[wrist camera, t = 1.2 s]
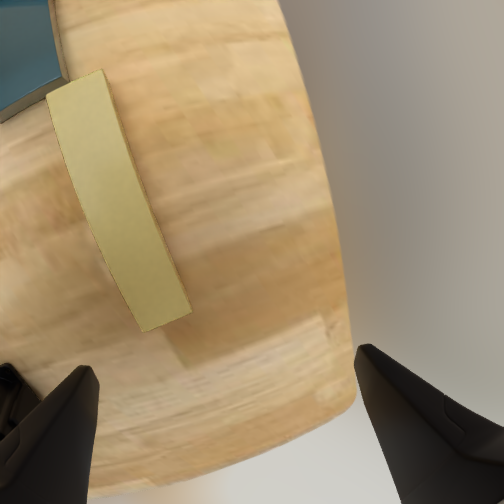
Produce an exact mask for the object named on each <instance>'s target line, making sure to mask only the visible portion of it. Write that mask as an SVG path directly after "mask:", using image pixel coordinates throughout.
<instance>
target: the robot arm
mask: <svg viewBox="0 0 504 504" xmlns="http://www.w3.org/2000/svg"><path fill="white" fill-rule="evenodd" d="M8 369H9V370H10V371H9V370H8ZM354 369H355V372H356V376H357V379H358V383H359V387H360V390H361V394H362V398H363V401H364V405H365V407H366V410H367V413H368V415H369V418H370V420H371V423H372V425H373V428H374V430H375V433H376V435H377V438H378V441H379V443H380V446H381V448H382V451H383V454H384V456H385V459H386V461H387V464H388V467H389V470H390V472H391V475H392V478H393V481H394V483H395V486H396V489H397V492H398V494H399V497H400V500H402V501H401V504H504V427H502V426H500V425H498V424H496V423H493V422H492V421H490V420H488V419H486V418H484V417H482V416H480V415H478V414H476V413H474V412H472V411H471V410H469V409H467V408H466V407H464V406H462V405H461V404H459V403H457V402H456V401H454V400H453V399H451V398H450V397H448V396H447V395H444V393H442V392H441V391H439V390H438V389H436V388H435V387H433V386H432V385H431V384H429V383H428V382H426V381H425V380H423V379H422V378H420V377H419V376H417V375H416V374H414V373H413V372H411V371H410V370H408V369H407V368H405V367H404V366H403V365H401V364H400V363H398V362H397V361H395V360H394V359H392V358H391V357H389V356H388V355H387V354H385V353H384V352H382V351H381V350H379V349H377V348H376V347H375V346H373V345H372V344H364V345H360V346H358V349H357V352H356V356H355V360H354ZM99 389H100V385H99V381H98V379H97V377H96V375H95V373H94V372H93V370H92V368H91V367H90V366H85V365H80V366H78V367H77V368H76V369H75V370H74V371H73V372H72V373H71V374H70V375H68V376H67V377H66V378H65V379H64V380H63V381H62V382H61V383H60V384H59V385H58V386H57V387H56V388H55V389H54V390H53V391H52V392H51V393H50V394H49V395H48V396H47V397H46V398H45V399H44V400H43V401H42V402H41V401H40V400H39V399H38V397H37V396H36V395H35V394H34V393H33V392H32V390H31V389H30V388H29V387H28V385H27V384H26V383H25V382H24V380H23V379H22V378H21V377H20V375H19V374H18V373H17V371H16V370H15V369H14V367H13V366H12V365H11V364H9V363H4V364H2V365H0V504H87V493H88V483H89V475H90V466H91V459H92V452H93V445H94V439H95V433H96V426H97V415H98V401H99Z"/></svg>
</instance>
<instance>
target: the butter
mask: <svg viewBox="0 0 504 504" xmlns="http://www.w3.org/2000/svg"><path fill="white" fill-rule="evenodd" d="M46 100H47V104H48V108H49V111H50V115H51V119H52V122H53V126H54V129H55V133H56V136H57V139H58V143H59V146H60V149H61V152H62V155H63V158H64V161H65V164H66V167H67V170H68V173H69V175H70V178H71V181H72V184H73V186H74V189H75V192H76V194H77V197H78V200H79V202H80V205H81V207H82V210H83V212H84V215H85V217H86V219H87V222H88V224H89V226H90V229H91V231H92V233H93V236H94V238H95V240H96V242H97V245H98V247H99V249H100V251H101V253H102V256H103V258H104V260H105V262H106V264H107V266H108V268H109V270H110V272H111V274H112V276H113V278H114V280H115V282H116V284H117V286H118V288H119V290H120V292H121V294H122V296H123V298H124V300H125V302H126V303H127V305H128V307H129V309H130V311H131V313H132V315H133V316H134V318H135V320H136V322H137V323H138V325H139V327H140V329H141V330H142V332H143V333H145V332H147V331H150V330H152V329H155V328H157V327H159V326H162V325H164V324H167V323H169V322H171V321H174V320H176V319H179V318H181V317H183V316H186V315H188V314H190V313H192V312H193V310H192V307H191V304H190V301H189V299H188V296H187V293H186V290H185V288H184V285H183V283H182V281H181V279H180V276H179V274H178V272H177V269H176V267H175V265H174V262H173V260H172V258H171V255H170V253H169V251H168V248H167V246H166V243H165V241H164V239H163V236H162V234H161V231H160V229H159V226H158V224H157V221H156V219H155V216H154V213H153V211H152V208H151V206H150V203H149V201H148V198H147V195H146V193H145V190H144V187H143V184H142V182H141V179H140V176H139V174H138V171H137V168H136V165H135V162H134V159H133V157H132V154H131V151H130V148H129V145H128V142H127V139H126V136H125V133H124V130H123V127H122V124H121V120H120V117H119V114H118V111H117V108H116V104H115V101H114V98H113V94H112V91H111V88H110V84H109V82H108V79H107V77H106V75H105V73H104V71H103V69H100V70H97V71H95V72H92V73H90V74H88V75H85V76H83V77H81V78H79V79H76V80H74V81H72V82H70V83H68V84H66V85H64V86H62V87H60V88H58V89H56V90H54V91H52V92H50V93H48V94H46Z"/></svg>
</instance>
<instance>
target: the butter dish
mask: <svg viewBox="0 0 504 504" xmlns="http://www.w3.org/2000/svg"><path fill="white" fill-rule="evenodd" d="M68 83H70V81H69V77H68V73H67V69H66V65H65V60H64V56H63V51H62V46H61V41H60V36H59V31H58V26H57V20H56V14H55V7H54V0H0V123H2V122H4V121H5V120H7V119H9V118H10V117H12V116H13V115H15V114H17V113H18V112H20V111H22V110H23V109H25V108H27V107H29V106H30V105H32V104H34V103H36V102H37V101H39V100H41V99H43V98H45V97H46V94H48V93H50V92H52V91H54V90H56V89H58V88H60V87H62V86H64V85H66V84H68Z"/></svg>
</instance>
